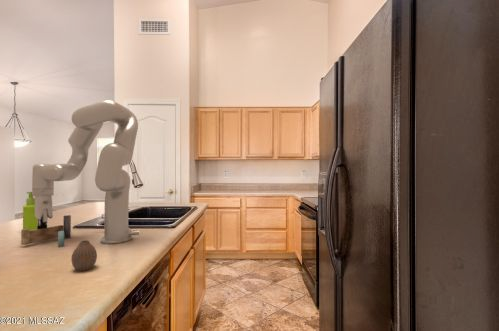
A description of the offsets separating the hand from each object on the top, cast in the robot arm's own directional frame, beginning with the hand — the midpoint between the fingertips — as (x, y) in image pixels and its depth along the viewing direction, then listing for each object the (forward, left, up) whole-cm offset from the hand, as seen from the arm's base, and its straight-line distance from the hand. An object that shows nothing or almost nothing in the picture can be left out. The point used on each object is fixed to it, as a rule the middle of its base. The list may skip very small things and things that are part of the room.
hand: (42, 234), depth 118 cm
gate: (-2, +3, -2) cm, 4 cm away
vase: (-25, +42, -3) cm, 49 cm away
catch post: (-10, +11, -3) cm, 15 cm away
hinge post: (-8, -4, -3) cm, 10 cm away
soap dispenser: (+12, -22, -3) cm, 25 cm away
